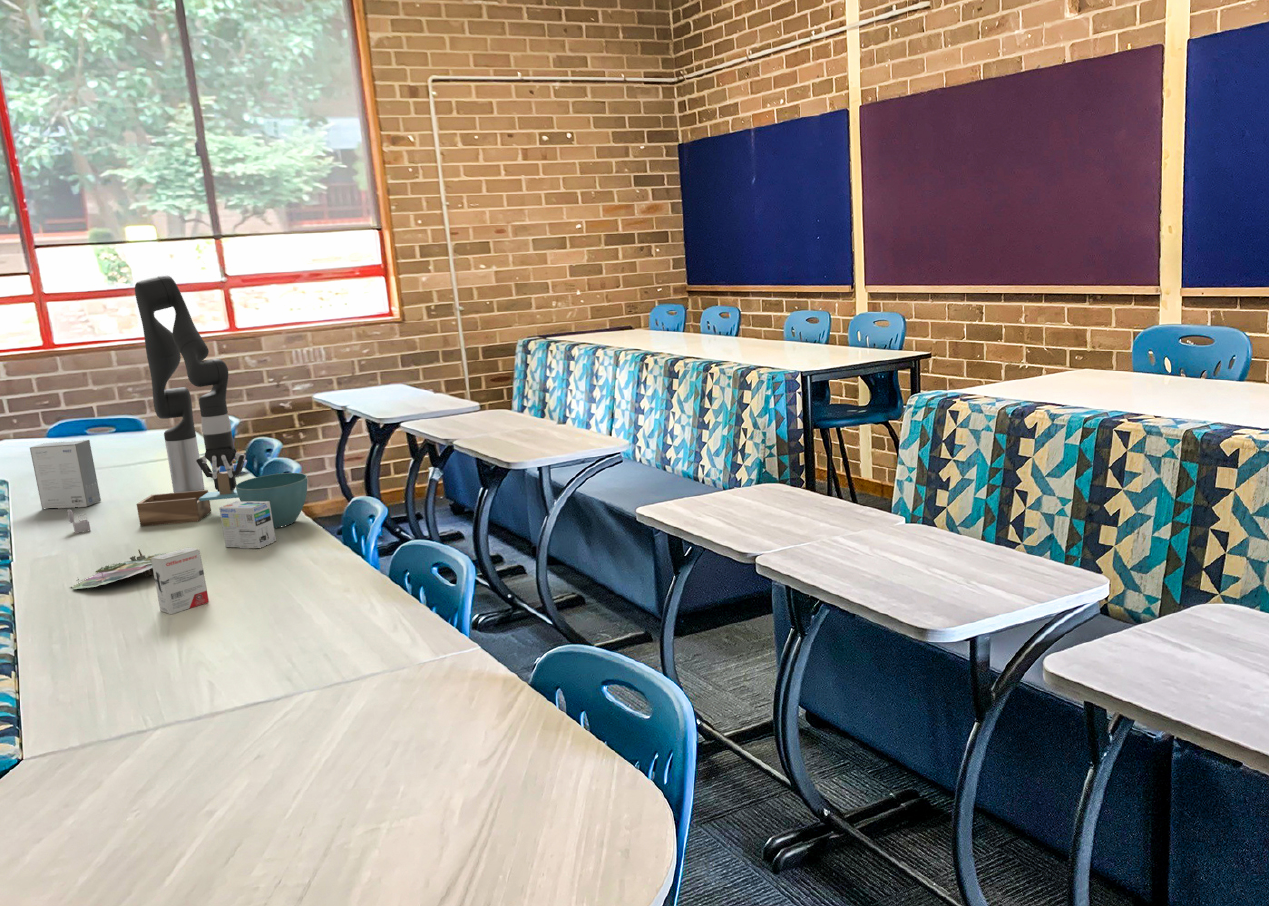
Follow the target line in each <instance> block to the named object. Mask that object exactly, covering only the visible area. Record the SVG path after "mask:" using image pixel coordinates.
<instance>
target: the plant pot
mask: <svg viewBox="0 0 1269 906" xmlns="http://www.w3.org/2000/svg"><path fill="white" fill-rule="evenodd" d="M236 484H237V485H236V488H235V490H237V493H238V496H239V502H250V501H254V502H267V501H269V502H270V507H271V513H272V520H273V526H274V529H277V528H276V527H281V526H285V525H288V524H291V525H293V524H294V523H295V522H296V521H297V519H298V517H300V516H299V515H300V514H301V512H302V510H303V508H304V506H305V502H306V500H307V493H308V476H307V474H306V473H305V474H304V473H301V472H284V473H272V474H267V475H262V476H258V477H253V478H252V477H251V478H249V479H247V480H246V479H245V480H242V481H241V482H238V483H236ZM293 522H294V523H293ZM292 523H293V524H292ZM285 527H286V526H285ZM281 528H282V527H281Z"/></svg>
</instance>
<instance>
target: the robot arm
mask: <svg viewBox="0 0 1269 906" xmlns="http://www.w3.org/2000/svg"><path fill="white" fill-rule="evenodd" d="M134 285H135V286H134V294H135V299H136V304H137V307H138V312H139V315H140V320H141V323H142V330H143V336H144V338H143V339H144V344H145V345H144V346H145V351H146V352H145V353H146V357H147V363H148V368H149V372H150V373H149V374H150V378H151V389H152V401H153V407H154V412H155V414H156V416H157V417H158V418H159V419H161V420H166V419H167V420H168V419H175V418H181V421H180V422H179V423H177V424H176V425H175V426H173V427H171V428H168V429H167V430H164V432H163V433H164V434H163V437H164V443H165V450H166V454H167V455H166V456H167V461H168V466H169V467H168V468H169V473H170V479H171V485H172V491H173V492H172V493H178V492H189V491H200V490H203V489H204V490H206V488H205V483H204V477H203V474H204V476H205V477H206V478H211V479H213V484H214V489H215V490H216V491H218V492H219V486H218V479H217V474H218V473H219V472H220V466H225V469H226V470H227V473H228V476H229V484H230V490H236V485H237V484H238V483H237V478H236V476H237V475H239V474H241V473H242V471H243V469H244V468H243V465H244V462H245V460H246V457H247V454H246V453H239V452H237V450H236V449H235V446H234V440H233V439H234V438H233V433H232V432H233V431H232V425H231V420H230V417H229V413H228V407H227V392H228V391H227V390H228V389H227V388H228V384H229V383H228V382H229V369H228V366H227V364H226V362H224V360H222V359H220V358H214V359H213V358H212V359H207V358H208V355H209V354H210V353H209V348H208V346H207V344H206V343H205V341H204V339H203V337H202V336H201V335H200V333H199V331H198V329H197V327H196V325H195V323H194V322H193V320H192V319H193V318H192V316H191V314H190V311H189V309H188V307H187V305H186V302H185V300H184V298H183V294H182V293H181V290H180V288H179V286H178V285H177V283H176V282H175V280H174V279H173V278H172V276H170V275H167V274H165V275H164V274H163V275H158V276H155V277H151V278H146V279H142V280H139V281H137V282H136V283H135V284H134ZM172 307H173V309H174V313H175V316H174V321H173V322H174V323H173V327H172V331H171V330H169V328H167V327H166V326H164V325H163V324H162V323H161V322H160V321H159V320H158V319H157V318H156V317H155V312H156V311H162V310H166V309H168V308H169V309H170V308H172ZM181 356H182V359H183V362H184V365H185V369H186V375H187V378H188V381H189V382H190V384H192V385H193V386H195V387H198V388H201V387H209V386H212V388H211V390H210V391H209V392H207V393H205V394H202V395H201V396H200V397H199V398H198V405H199V411H200V416H201V417H200V418H201V433H202V437H203V442H204V448H205V453H204V455H203V456H200V452H199V451H200V450H199V445H198V440H197V433H196V427H195V422H194V421H195V420H194V415H193V414H194V413H193V403H192V396H191V393H190V391H189V388H188V387H185V386H183V387H173V388H166V386H167V383H168V382H169V380H170V378H171V377H172V376H173V374H174V373H175V372H176V370H177V369H178V366H179V365H180V364H181ZM205 359H207V360H205ZM233 459H235V460H237V461H238V463H237V466H236V470H235V471H234V466H233V463H232V461H233ZM208 462H209V464H210V463H211V464H212V466H211V469H210V466H209V464H208ZM211 464H210V465H211ZM242 468H243V469H242Z"/></svg>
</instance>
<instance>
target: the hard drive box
mask: <svg viewBox="0 0 1269 906" xmlns="http://www.w3.org/2000/svg"><path fill="white" fill-rule="evenodd" d="M29 451H30V455H31V460H32V465H33V471H34V475H35V481H36V486H37V490H38V495H39V501H40V505H41V510H45V509H44V508H58V509H72V508H73V509H75V507H78V508H86V507H89V506H92V505H94V504H96V503H99V502H101V501H102V499H101V493H100V487H99V484H98V483H99V482H98V479H97V474H96V473H97V472H96V468H95V463H94V462H95V461H94V457H93V451H92V447H91V441H90V439H82V440H81V439H80V440H68V441H67V440H65V441H55V442H54V441H53V442H44V443H41V444H37V445H33V446H30V447H29Z"/></svg>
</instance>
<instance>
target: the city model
mask: <svg viewBox="0 0 1269 906" xmlns="http://www.w3.org/2000/svg"><path fill="white" fill-rule="evenodd" d="M138 553H139V555H138V556H137V557H136V556H135V555H133V556H131V557H129V560H128V561H124V562H123V563H121V562H119V563H112V564H108V565H105V566H104V567H103V566H101V567H100V568H98V569H96V571H95V573H94V574H95V575H94V574H92V576H93V577H91V576H90V577H91V578H89V577H87V578H88V579H86V578H84V581H83V580H81V581H82V582H81V581H80V579H79V578H77V580H75V581H76V582H77V583H78V584H77V583H76V585H75V584H73V586H74V587H72V586H71V587H72V588H71V589H72V590H77V589H86V588H87V589H89V588H94V587H95V588H96V587H98V586H101V585H107V584H109V583H113V582H116V581H118V580H123V579H126V578H129V577H132V576H134V575H137V574H141V573H142V574H145V577H149V576H154V572H153V567H152V561H151V558H152V557H156V556H159V555H163V554H166V553H167V552H163V553H155V554H153V555H147V556H146V555H144V554H142V551H141V550H140V549H138ZM124 559H125V557H124ZM96 572H99V573H97V574H96ZM85 579H86V580H85ZM79 582H80V583H79Z"/></svg>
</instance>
